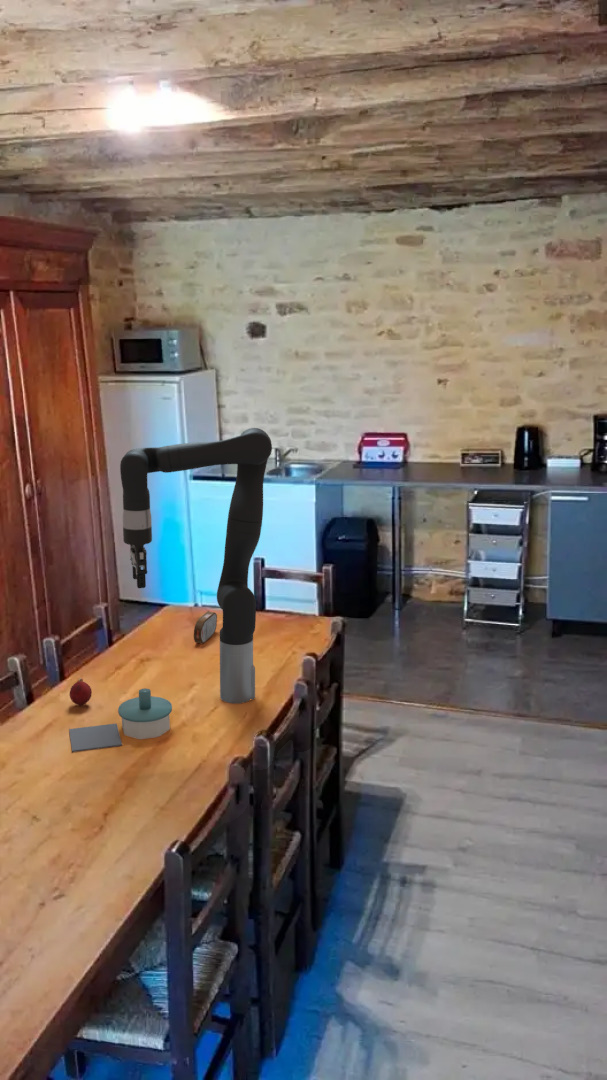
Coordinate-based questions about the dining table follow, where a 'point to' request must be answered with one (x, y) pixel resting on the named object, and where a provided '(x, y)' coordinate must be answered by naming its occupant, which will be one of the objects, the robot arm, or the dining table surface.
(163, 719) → the bowl
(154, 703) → the lid
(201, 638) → the tin
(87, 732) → the mat
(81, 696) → the onion
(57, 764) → the dining table surface
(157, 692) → the dining table surface
